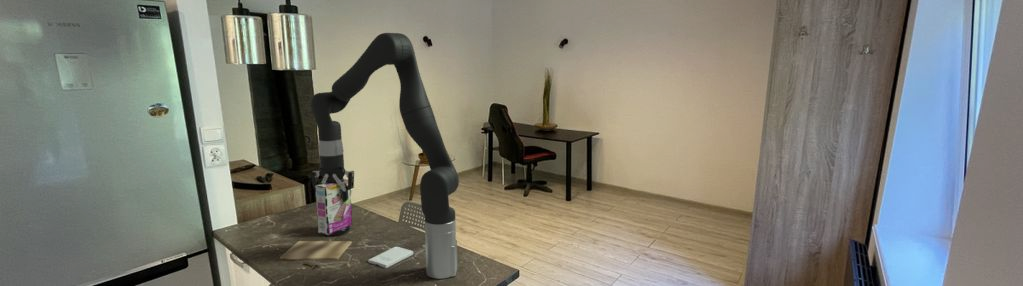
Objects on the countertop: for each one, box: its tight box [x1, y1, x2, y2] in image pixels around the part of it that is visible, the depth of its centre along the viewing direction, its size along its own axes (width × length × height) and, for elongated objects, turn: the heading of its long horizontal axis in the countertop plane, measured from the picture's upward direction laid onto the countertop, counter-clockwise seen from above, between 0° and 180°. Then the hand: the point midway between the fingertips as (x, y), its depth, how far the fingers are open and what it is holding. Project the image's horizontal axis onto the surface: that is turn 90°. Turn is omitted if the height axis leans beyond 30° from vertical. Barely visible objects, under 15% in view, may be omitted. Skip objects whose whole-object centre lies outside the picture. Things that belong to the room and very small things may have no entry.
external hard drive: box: [367, 246, 414, 269], centre depth 157 cm, size 2×8×12 cm
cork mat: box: [279, 240, 353, 261], centre depth 162 cm, size 19×14×1 cm
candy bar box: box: [314, 178, 353, 236], centre depth 159 cm, size 11×5×16 cm, turn 155°
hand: (334, 201), depth 159 cm, fingers closed on candy bar box, 6 cm apart
